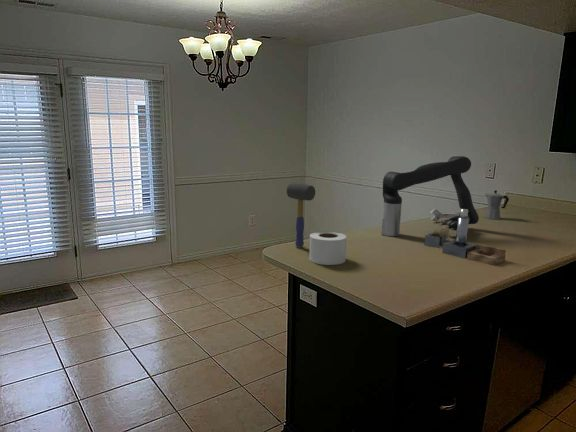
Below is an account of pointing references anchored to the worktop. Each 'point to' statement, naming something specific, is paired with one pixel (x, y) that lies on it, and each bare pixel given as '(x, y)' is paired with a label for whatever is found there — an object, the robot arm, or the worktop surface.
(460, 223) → the metal spray bottle
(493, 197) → the coffeepot
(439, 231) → the tan flat block
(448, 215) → the wrench
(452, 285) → the worktop surface
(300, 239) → the rubber mallet
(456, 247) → the socket block
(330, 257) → the white toilet paper roll
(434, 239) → the guide
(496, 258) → the brown hollowed block
